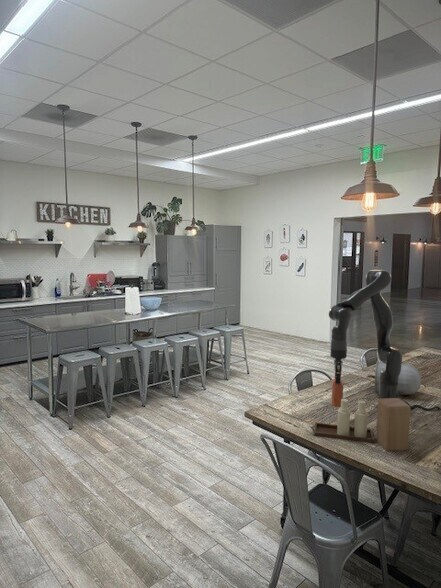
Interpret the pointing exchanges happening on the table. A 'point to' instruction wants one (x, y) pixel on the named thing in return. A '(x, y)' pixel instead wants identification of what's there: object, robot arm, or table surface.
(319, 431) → the tray
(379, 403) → the wooden block
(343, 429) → the cream bottle
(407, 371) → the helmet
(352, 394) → the table surface
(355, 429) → the cream bottle
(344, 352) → the robot arm
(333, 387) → the terracotta bottle
